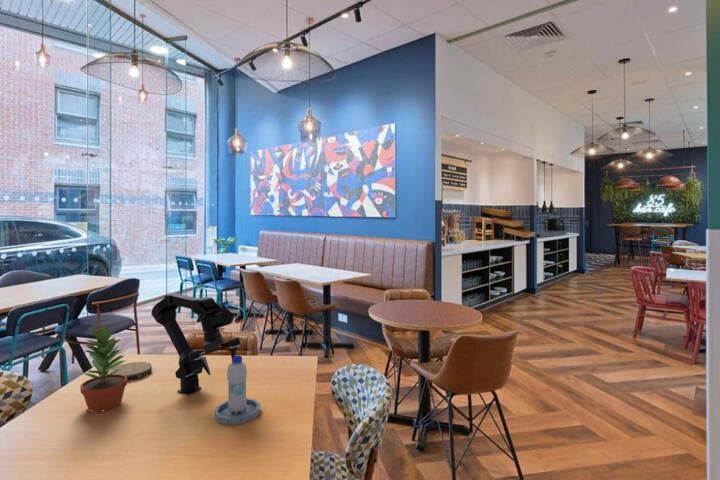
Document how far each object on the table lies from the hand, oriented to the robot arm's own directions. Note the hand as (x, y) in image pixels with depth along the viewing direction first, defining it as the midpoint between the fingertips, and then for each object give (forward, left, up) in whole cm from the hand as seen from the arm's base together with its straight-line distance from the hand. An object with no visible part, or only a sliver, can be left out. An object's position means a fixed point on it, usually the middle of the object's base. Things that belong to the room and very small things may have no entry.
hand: (222, 370), depth 149 cm
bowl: (+12, -6, -12) cm, 17 cm away
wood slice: (-54, +5, -12) cm, 56 cm away
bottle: (+12, -6, -11) cm, 17 cm away
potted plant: (-37, -19, -12) cm, 43 cm away
